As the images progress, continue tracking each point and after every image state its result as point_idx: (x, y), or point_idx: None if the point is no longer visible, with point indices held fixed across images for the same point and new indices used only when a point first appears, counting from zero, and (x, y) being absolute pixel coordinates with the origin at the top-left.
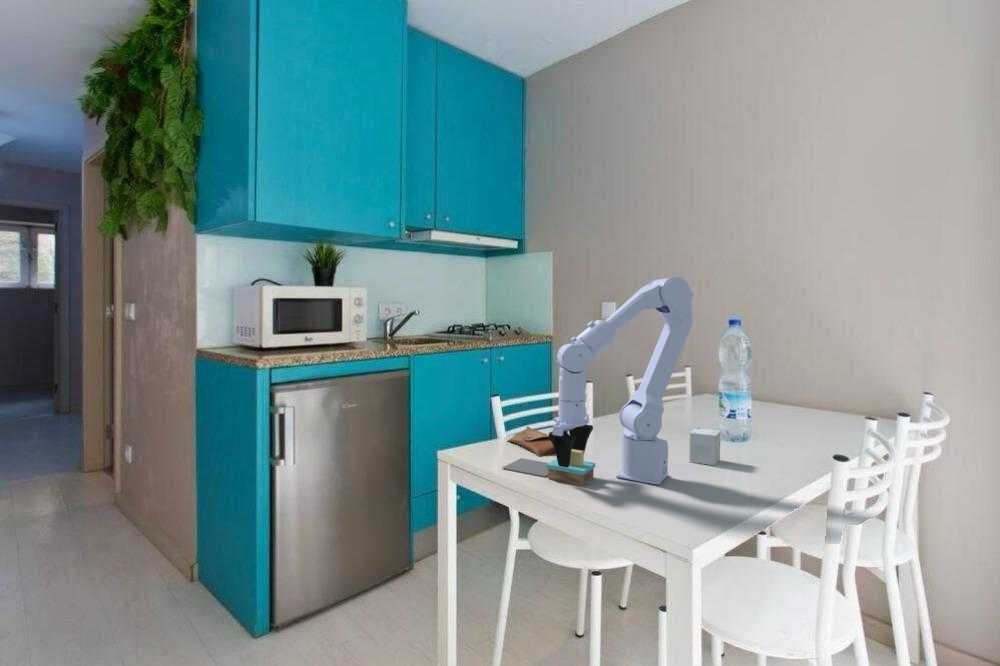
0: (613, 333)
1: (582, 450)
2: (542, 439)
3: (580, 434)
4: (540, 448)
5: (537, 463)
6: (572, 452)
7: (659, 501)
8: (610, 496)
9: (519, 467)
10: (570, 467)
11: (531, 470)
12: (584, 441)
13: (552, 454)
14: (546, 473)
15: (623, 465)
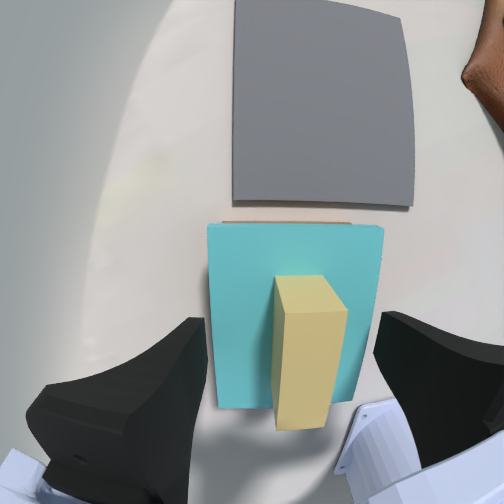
0: None
1: (390, 379)
2: None
3: (438, 429)
4: (494, 73)
5: (383, 93)
6: (279, 393)
7: (235, 488)
8: (194, 436)
9: (284, 43)
10: (232, 355)
11: (274, 105)
12: (411, 419)
13: (496, 120)
14: (273, 188)
15: (386, 435)
